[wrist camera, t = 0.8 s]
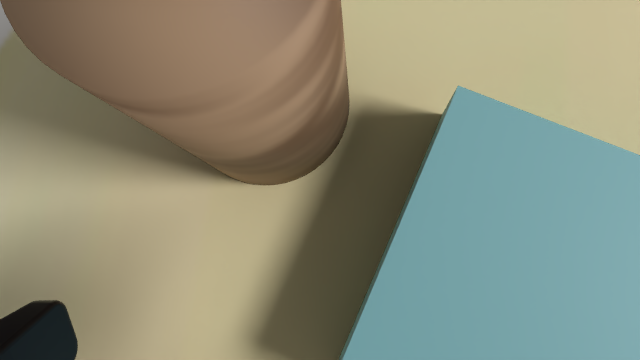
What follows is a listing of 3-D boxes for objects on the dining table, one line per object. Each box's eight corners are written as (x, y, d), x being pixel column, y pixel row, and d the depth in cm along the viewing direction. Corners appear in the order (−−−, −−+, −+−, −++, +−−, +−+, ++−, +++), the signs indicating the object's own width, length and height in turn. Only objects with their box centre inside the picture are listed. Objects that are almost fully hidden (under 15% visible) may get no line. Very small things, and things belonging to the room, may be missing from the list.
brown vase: (308, 211, 21) (239, 154, 9) (162, 146, 22) (-68, 21, 10) (375, 62, 22) (389, -165, 10) (230, 5, 23) (89, -263, 11)
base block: (607, 490, 19) (670, 550, 15) (337, 361, 21) (331, 385, 17) (703, 220, 20) (784, 211, 16) (441, 116, 22) (458, 85, 18)
